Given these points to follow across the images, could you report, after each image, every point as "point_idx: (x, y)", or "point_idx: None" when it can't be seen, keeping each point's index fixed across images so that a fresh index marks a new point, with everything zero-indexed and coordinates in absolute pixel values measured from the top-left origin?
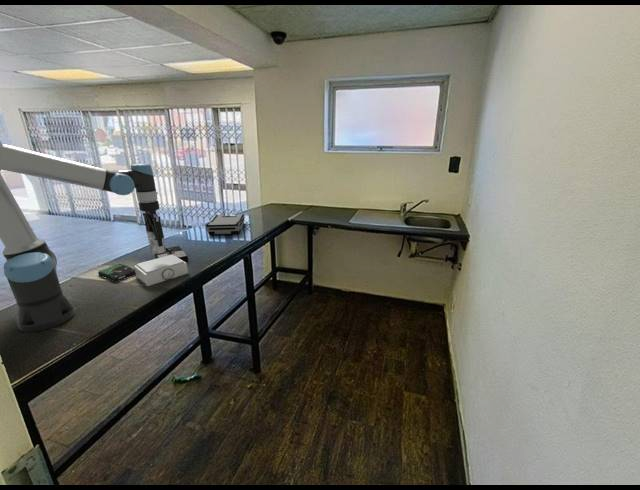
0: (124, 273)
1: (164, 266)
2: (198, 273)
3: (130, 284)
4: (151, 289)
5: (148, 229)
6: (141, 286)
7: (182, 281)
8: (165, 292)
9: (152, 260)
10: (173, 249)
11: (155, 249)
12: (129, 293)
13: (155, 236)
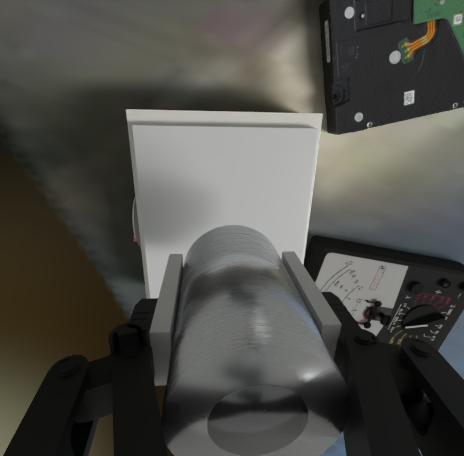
0: (346, 64)
1: (151, 228)
2: (126, 311)
3: (228, 53)
4: (91, 109)
5: (380, 407)
6: (162, 86)
7: (88, 240)
8: (12, 143)
9: (295, 215)
10: (411, 337)
11: (190, 260)
12: (116, 4)
13: (137, 371)
